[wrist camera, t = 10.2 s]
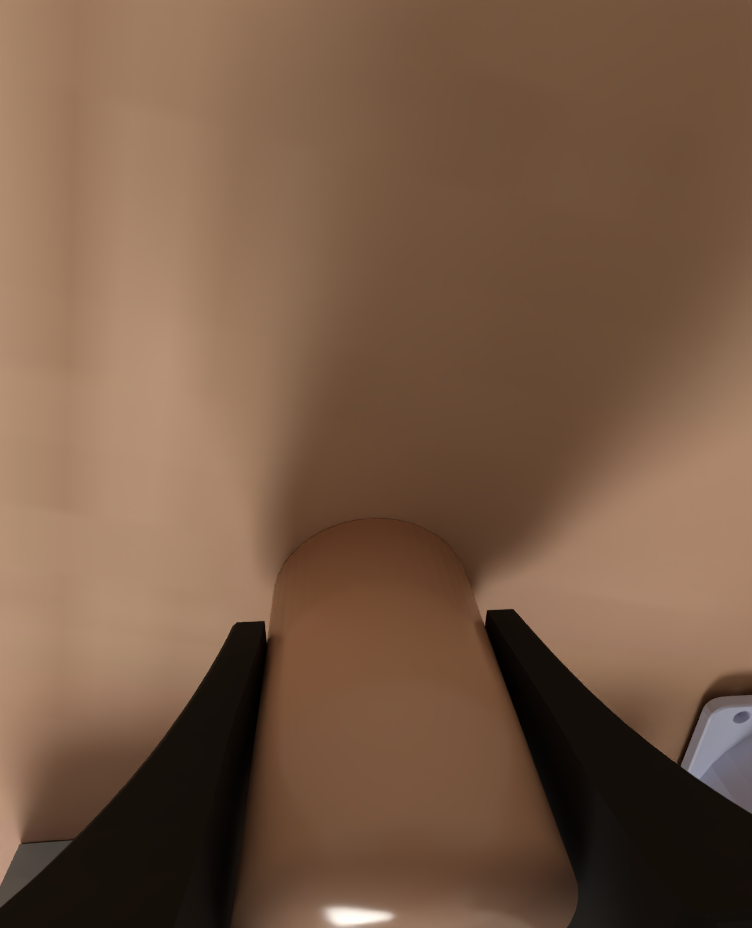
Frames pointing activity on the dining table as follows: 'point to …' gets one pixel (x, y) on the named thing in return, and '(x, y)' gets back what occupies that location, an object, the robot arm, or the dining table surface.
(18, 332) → the dining table surface
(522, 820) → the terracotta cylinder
